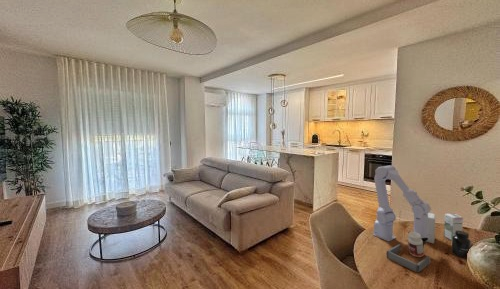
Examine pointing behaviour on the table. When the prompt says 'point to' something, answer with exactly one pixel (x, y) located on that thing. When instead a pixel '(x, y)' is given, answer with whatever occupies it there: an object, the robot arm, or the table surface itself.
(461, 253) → the supplement bottle
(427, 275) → the table surface
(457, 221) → the syrup box
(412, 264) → the box
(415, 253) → the pill bottle
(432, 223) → the supplement box
